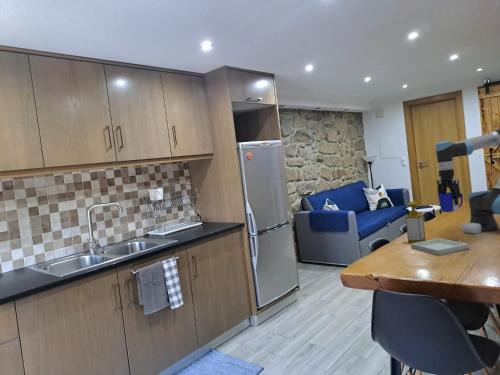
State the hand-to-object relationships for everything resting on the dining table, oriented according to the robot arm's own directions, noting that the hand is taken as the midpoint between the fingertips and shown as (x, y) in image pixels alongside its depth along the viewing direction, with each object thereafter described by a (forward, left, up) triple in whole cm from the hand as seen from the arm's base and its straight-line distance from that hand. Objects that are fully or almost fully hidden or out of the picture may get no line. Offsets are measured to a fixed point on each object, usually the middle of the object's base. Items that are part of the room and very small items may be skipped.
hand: (450, 210), depth 201 cm
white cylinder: (-19, -3, -14) cm, 24 cm away
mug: (0, +1, 0) cm, 1 cm away
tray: (+18, +10, -17) cm, 27 cm away
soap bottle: (+14, -11, -17) cm, 25 cm away
